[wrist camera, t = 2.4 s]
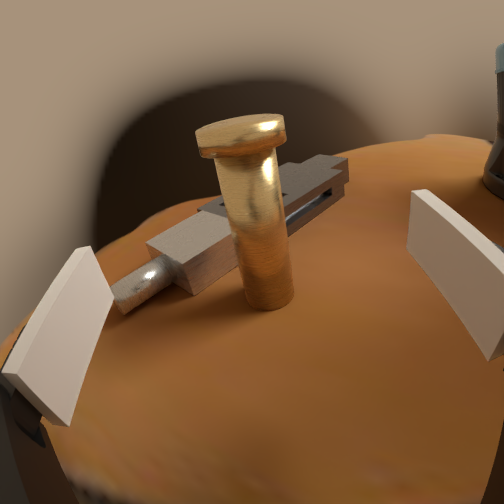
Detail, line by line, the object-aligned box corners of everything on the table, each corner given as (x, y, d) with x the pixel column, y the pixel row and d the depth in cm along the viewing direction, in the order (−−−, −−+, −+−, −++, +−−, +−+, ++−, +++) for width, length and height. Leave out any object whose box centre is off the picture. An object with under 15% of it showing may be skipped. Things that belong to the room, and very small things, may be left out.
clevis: (310, 174, 48) (308, 153, 47) (360, 183, 43) (360, 160, 41) (106, 296, 30) (92, 269, 28) (145, 340, 24) (128, 308, 22)
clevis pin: (267, 266, 29) (240, 114, 22) (317, 287, 26) (300, 113, 18) (223, 300, 26) (178, 135, 19) (272, 328, 23) (236, 134, 15)
